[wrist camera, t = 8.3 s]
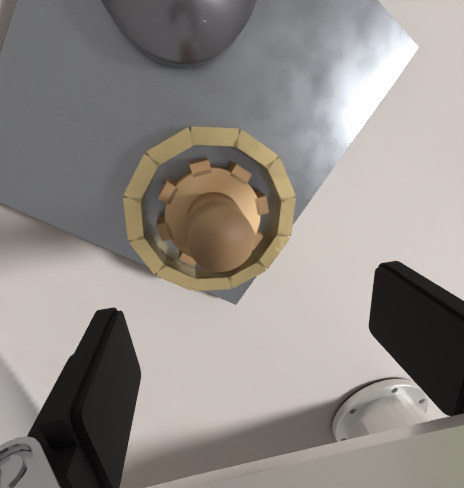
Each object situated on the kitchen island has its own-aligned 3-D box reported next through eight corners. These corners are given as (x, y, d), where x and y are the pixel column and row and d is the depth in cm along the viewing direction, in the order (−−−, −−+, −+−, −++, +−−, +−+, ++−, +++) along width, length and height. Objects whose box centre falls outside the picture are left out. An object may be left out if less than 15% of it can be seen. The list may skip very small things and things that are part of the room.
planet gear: (282, 193, 20) (315, 216, 15) (227, 273, 22) (241, 317, 17) (191, 134, 17) (195, 139, 12) (139, 231, 19) (124, 269, 14)
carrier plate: (402, 52, 19) (446, 38, 16) (233, 294, 25) (240, 320, 21) (120, -256, 12) (99, -391, 9) (-25, 180, 18) (-69, 192, 15)
